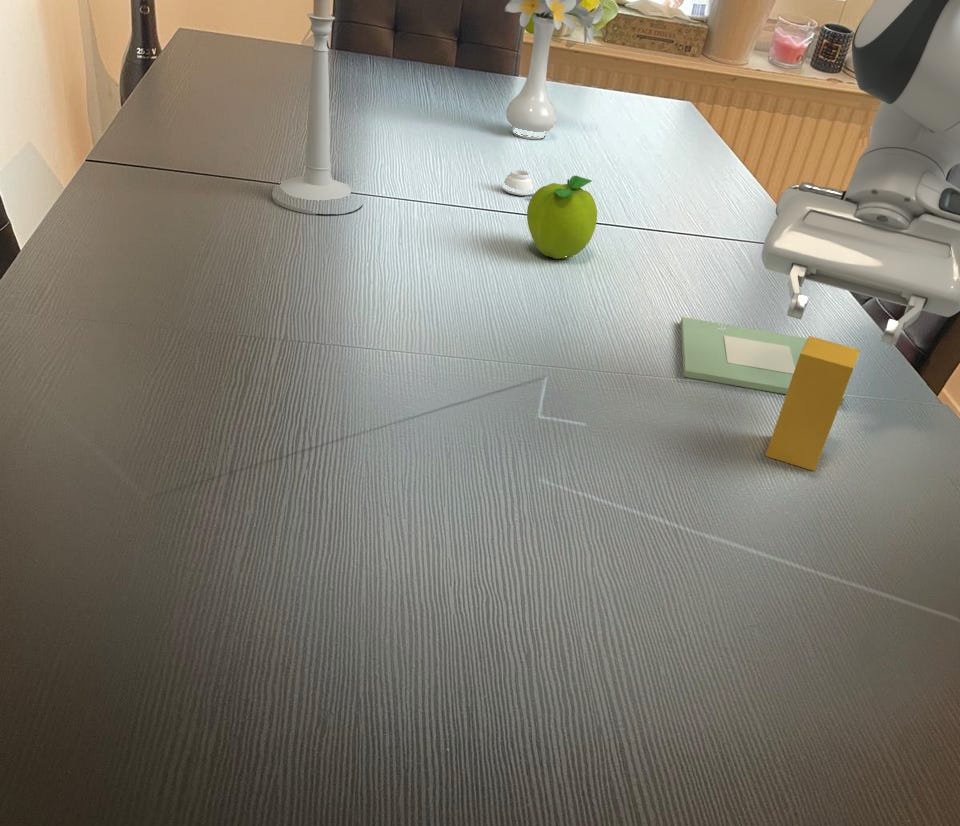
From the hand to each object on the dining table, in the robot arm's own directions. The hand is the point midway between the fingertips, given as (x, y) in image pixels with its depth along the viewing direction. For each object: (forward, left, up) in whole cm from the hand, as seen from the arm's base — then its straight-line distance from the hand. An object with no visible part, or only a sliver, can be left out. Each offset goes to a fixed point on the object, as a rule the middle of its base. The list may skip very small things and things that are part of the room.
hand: (841, 328), depth 101 cm
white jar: (+38, -67, -11) cm, 78 cm away
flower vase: (+39, -104, -11) cm, 112 cm away
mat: (+4, -16, -11) cm, 20 cm away
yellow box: (+2, +6, -11) cm, 13 cm away
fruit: (+30, -41, -11) cm, 52 cm away
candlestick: (+65, -47, -11) cm, 81 cm away
